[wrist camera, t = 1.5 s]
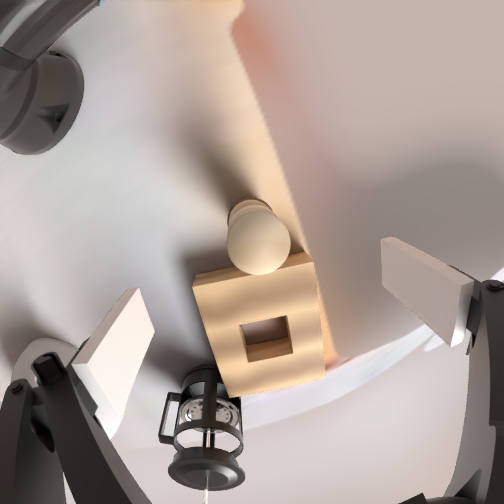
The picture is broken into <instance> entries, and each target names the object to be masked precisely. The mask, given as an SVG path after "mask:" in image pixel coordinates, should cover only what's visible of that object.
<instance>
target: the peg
mask: <svg viewBox="0 0 504 504" xmlns="http://www.w3.org/2000/svg"><path fill="white" fill-rule="evenodd" d="M227 224H228V236H227V251H228V254H229V257H230V259H231V261H232V262H233V263H234V265H235V266H236V267H238V268H239V269H240V270H242V271H244V272H246V273H249V274H253V275H263V274H267V273H270V272H273V271H274V270H276V269H277V268H279V267H280V266H281V265H282V264H283V263H284V262H285V260H286V258H287V257H288V254H289V251H290V245H291V242H290V235H289V232H288V230H287V228H286V227H285V225H284V224H283V223H282V222H281V221H280V220H279V218H278V217H277V216H276V215H275V214H274V213H273V211H272V209H271V208H270V206H269V205H268V204H267V203H266V202H264V201H263V200H261V199H258V198H253V197H249V198H244V199H241V200H239V201H238V202H236V203H235V204H234V205H233V206H232V208H231V209H230V211H229V214H228V219H227Z"/></svg>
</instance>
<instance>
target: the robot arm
mask: <svg viewBox="0 0 504 504" xmlns="http://www.w3.org/2000/svg"><path fill="white" fill-rule="evenodd" d="M103 2H104V0H0V144H1V145H3V146H5V147H7V148H9V149H11V150H12V151H13V152H15V153H18V154H22V155H36V154H41V153H44V152H46V151H48V150H50V149H51V148H53V147H54V146H55V145H56V144H57V143H58V142H59V141H61V139H62V138H63V137H64V136H65V135H66V133H67V132H68V131H69V129H70V128H71V126H72V124H73V123H74V121H75V119H76V117H77V114H78V112H79V109H80V106H81V103H82V98H83V92H84V79H83V74H82V70H81V68H80V66H79V65H78V63H77V62H76V61H75V60H74V59H72V58H71V57H69V56H67V55H66V54H64V53H61V52H56V51H46V50H47V49H48V48H49V47H50V46H51V45H52V44H53V43H54V42H55V41H56V40H57V39H58V38H59V37H60V36H61V35H62V34H63V33H64V32H65V31H67V30H68V29H69V28H70V27H71V26H72V25H73V24H75V23H76V22H77V21H78V20H79V19H81V18H82V17H83V16H84V15H86V14H87V13H88V12H89V11H91V10H92V9H93V8H95V7H96V6H99V5H101V4H102V3H103ZM381 252H382V285H383V286H384V287H385V288H386V289H387V290H389V291H390V292H391V293H392V294H393V295H394V296H395V297H397V298H398V299H399V300H400V301H401V302H402V303H403V304H404V305H405V306H407V307H408V308H409V309H410V310H411V311H412V312H414V314H416V315H417V316H418V317H419V318H420V319H421V320H422V321H423V322H424V323H425V324H426V325H427V326H429V327H430V328H431V329H432V330H433V331H434V332H435V333H436V334H437V335H438V336H439V337H440V338H441V339H442V340H443V341H444V342H446V343H447V344H448V345H449V346H450V347H452V346H454V345H456V344H458V343H460V342H462V341H463V340H464V335H465V331H466V328H467V329H468V330H469V331H470V332H472V333H471V337H470V341H469V345H468V349H467V353H466V355H468V354H469V352H470V359H469V361H470V362H469V382H468V394H467V404H466V413H465V420H464V427H463V433H462V439H461V444H460V449H459V454H458V458H457V462H456V466H455V471H454V474H453V477H452V480H451V482H450V485H449V486H448V488H447V490H446V492H445V494H444V496H443V497H437V498H431V499H425V497H424V495H423V493H421V494H419V495H417V496H415V497H413V498H410V499H408V500H406V501H404V502H402V503H399V504H504V283H503V282H500V281H498V280H486V281H483V282H482V283H481V282H480V281H478V280H476V279H474V278H473V277H471V276H469V275H467V274H465V273H464V272H462V271H459V269H457V268H455V267H453V266H450V265H447V264H445V263H443V262H441V261H439V260H437V259H435V258H434V257H432V256H430V255H428V254H426V253H424V252H422V251H420V250H418V249H416V248H414V247H412V246H411V245H409V244H407V243H404V242H403V241H401V240H399V239H396V238H395V237H388V238H383V239H381ZM154 332H155V330H154V328H153V325H152V323H151V320H150V317H149V315H148V312H147V309H146V306H145V304H144V301H143V298H142V295H141V292H140V289H139V287H138V288H133V289H127V290H126V291H125V292H124V293H123V295H122V296H121V297H120V298H119V300H118V301H117V302H116V304H115V305H114V306H113V308H112V309H111V310H110V311H109V313H108V314H107V315H106V317H105V318H104V319H103V321H102V322H101V323H100V325H99V326H98V327H97V329H96V330H95V331H94V333H93V334H92V336H91V337H89V338H88V339H87V340H86V341H84V342H83V344H82V345H81V346H80V348H79V350H77V352H76V353H75V355H74V356H73V358H72V359H71V360H70V362H69V363H68V365H67V366H66V367H65V366H64V365H63V363H62V361H61V359H60V357H59V356H58V354H57V353H56V352H47V353H45V354H42V355H41V356H39V357H37V358H36V359H35V360H34V361H33V363H32V364H31V369H32V371H33V373H34V374H35V376H36V378H37V379H38V381H39V382H40V384H41V386H38V387H34V388H32V386H31V385H30V383H29V382H28V380H27V379H24V378H22V379H18V380H15V381H13V382H12V383H10V385H9V386H8V388H7V390H6V392H5V395H4V399H3V402H2V405H1V409H0V504H66V497H65V489H64V480H63V472H64V475H65V478H66V480H67V483H68V485H69V488H70V490H71V493H72V495H73V498H74V500H75V502H76V504H152V503H151V502H150V500H149V499H148V498H147V497H146V495H145V494H144V492H143V491H142V490H141V488H140V487H139V485H138V484H137V482H136V481H135V480H134V478H133V477H132V475H131V474H130V472H129V471H128V469H127V467H126V466H125V464H124V463H123V461H122V460H121V458H120V456H119V455H118V453H117V451H116V450H115V448H114V446H113V445H112V443H111V441H110V439H109V437H108V436H107V434H106V432H105V430H104V428H103V426H102V424H101V423H100V421H99V419H98V418H97V416H96V415H95V413H96V410H97V408H99V410H100V411H101V412H102V414H103V415H104V417H109V418H121V415H122V413H123V410H124V407H125V405H126V402H127V399H128V397H129V394H130V391H131V389H132V386H133V384H134V381H135V379H136V376H137V373H138V371H139V368H140V366H141V364H142V361H143V359H144V356H145V354H146V351H147V349H148V346H149V344H150V342H151V339H152V337H153V335H154ZM32 430H33V431H32Z"/></svg>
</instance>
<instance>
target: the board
mask: <svg viewBox="0 0 504 504" xmlns="http://www.w3.org/2000/svg"><path fill="white" fill-rule="evenodd" d="M192 289H193V292H194V295H195V298H196V302H197V305H198V308H199V311H200V315H201V318H202V321H203V324H204V327H205V330H206V333H207V336H208V339H209V342H210V345H211V348H212V351H213V354H214V357H215V360H216V363H217V365H218V368H219V371H220V374H221V377H222V379H223V382H224V385H225V387H226V390H227V393H228V395H229V398H232V397H238V396H245V395H250V394H256V393H262V392H267V391H272V390H277V389H281V388H286V387H291V386H295V385H299V384H303V383H308V382H312V381H315V380H319V379H323V378H325V364H324V352H323V341H322V330H321V320H320V311H319V302H318V293H317V285H316V277H315V269H314V262H313V260H312V259H311V258H310V257H309V255H308V254H307V253H306V252H301V253H296V254H291V255H288V257H287V258H286V260H285V262H284V263H283V264H282V265H281V266H280V267H279V268H277V269H276V270H274V271H273V272H270V273H267V274H263V275H253V274H249V273H246V272H244V271H242V270H240V269H239V268H238V267H236V266H235V267H230V268H225V269H221V270H216V271H211V272H206V273H201V274H196V277H195V280H194V283H193V286H192ZM280 316H285V321H286V327H287V332H288V337H286V338H282V339H277V340H273V341H268V342H263V343H258V344H253V345H248V346H247V345H246V341H245V337H244V333H243V330H242V326H241V325H242V324H247V323H252V322H257V321H262V320H266V319H271V318H276V317H280Z"/></svg>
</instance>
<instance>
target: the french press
mask: <svg viewBox="0 0 504 504" xmlns="http://www.w3.org/2000/svg"><path fill="white" fill-rule="evenodd" d="M198 382H205V385H204V395H199V396H194V395H193V394H192V393H191V391H190V387H189V386H190V385H192V384H195V383H198ZM218 383H221V384H224V382H223V379H222V377H221V374H220V371H219V368H218V366H213V365H205V366H199V367H196V368H193V369H191V370H190V371H189V372H187V373H186V374H185V376H184V377H183V380H182V385H181V387H182V391H181V393H174V392H168V394H167V398H166V403H165V407H164V411H163V415H162V420H161V424H160V428H159V433H158V436H159V441H160V443H164V444H170V445H174V447H175V449H176V450H177V451H178V452H177V453H176V454H175V455H174V459H173V462H172V463H171V464H170V465H169V467H168V473H169V476H170V477H171V478H172V479H173V480H175V481H176V482H178V483H180V484H182V485H184V486H187V487H190V488H193V489H198V490H204V504H207V491H220V490H227V489H231V488H234V487H236V486H239V485H240V484H241V483H243V482H244V480H245V473H244V471H243V470H242V469H241V468H240V467H239V465H238V463H237V461H236V459H235V458H236V457H237V456H239V455H240V454H241V453H242V450H243V432H242V414H241V396H238V397H232V398H228V399H224V398H222V397H219V396H217V384H218ZM170 401H176V402H179V407H178V413H177V418H176V424H175V429H174V435H173V436H166V435H163V433H164V428H165V424H166V419H167V414H168V410H169V405H170ZM238 409H239V412H238ZM180 417H181V419H182V421H183V422H184V423H182V424H180V425H179V420H180ZM238 422H239V428H240V432H239V430H237V429H236V428H235V426H236V425H237V423H238ZM187 429H194V430H197V431H200V432H203V445H202V447H190V448H184V447H183V446H181V445H180V444H179V443H178V441H177V440H176V438H177V435H178V434H179V433H181V432H182V431H185V430H187ZM222 432H228V433H230V434H232V435H234V436H235V437H236V438H238V440H239V441H240V445H239V447H238V448H237V449H235V450H234V451H232V452H230V453H229V452H228V451H225V450H222V449H218V448H215V447H214V446H215V433H222Z"/></svg>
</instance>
